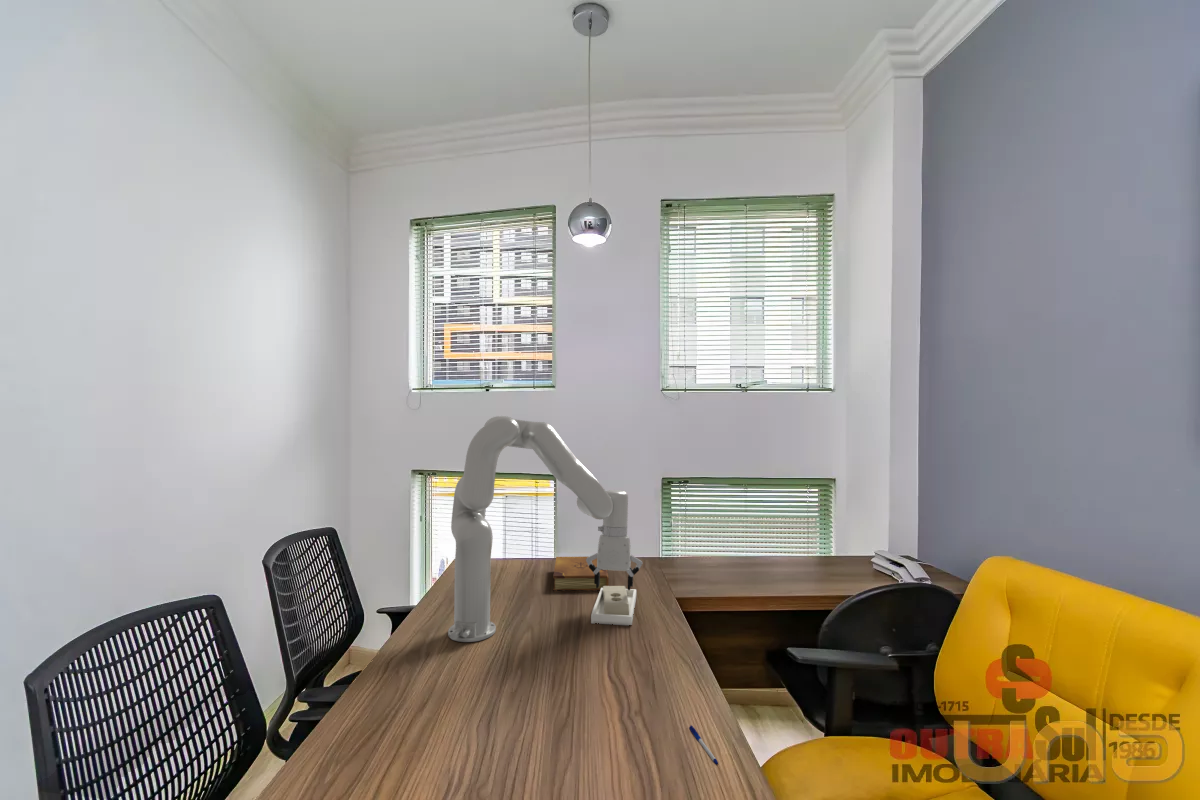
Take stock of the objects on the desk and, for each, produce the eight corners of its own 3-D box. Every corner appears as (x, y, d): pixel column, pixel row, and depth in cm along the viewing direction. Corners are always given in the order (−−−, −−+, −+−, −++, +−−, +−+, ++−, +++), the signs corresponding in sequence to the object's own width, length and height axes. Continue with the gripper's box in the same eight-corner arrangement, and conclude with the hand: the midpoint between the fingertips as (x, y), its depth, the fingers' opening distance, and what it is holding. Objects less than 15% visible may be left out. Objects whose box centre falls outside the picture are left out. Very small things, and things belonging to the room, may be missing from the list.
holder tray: (631, 625, 144) (631, 616, 144) (591, 623, 146) (591, 614, 146) (636, 597, 166) (636, 589, 167) (601, 595, 168) (601, 587, 168)
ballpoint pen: (687, 729, 97) (687, 724, 97) (691, 728, 97) (691, 723, 97) (715, 766, 87) (715, 760, 87) (720, 765, 87) (720, 759, 87)
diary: (608, 592, 173) (608, 575, 173) (553, 593, 172) (553, 575, 172) (605, 570, 196) (605, 555, 196) (556, 571, 195) (556, 556, 195)
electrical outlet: (625, 583, 166) (629, 603, 148) (625, 595, 166) (629, 617, 148) (603, 583, 166) (604, 603, 148) (603, 595, 166) (604, 617, 148)
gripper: (585, 532, 154) (583, 589, 153) (642, 535, 152) (641, 593, 151) (588, 527, 161) (587, 581, 161) (643, 530, 159) (642, 585, 159)
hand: (613, 587), depth 156 cm, fingers open, 9 cm apart
